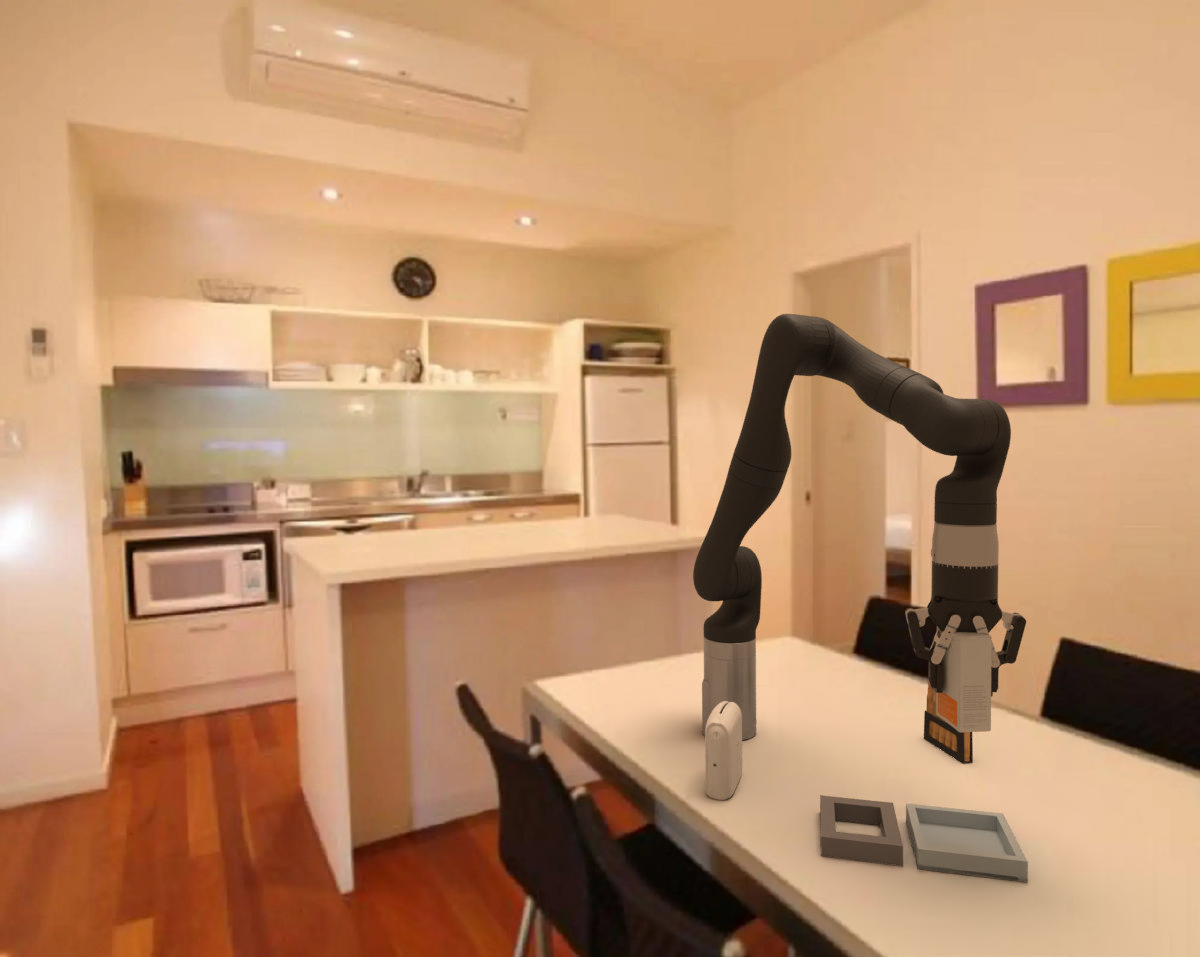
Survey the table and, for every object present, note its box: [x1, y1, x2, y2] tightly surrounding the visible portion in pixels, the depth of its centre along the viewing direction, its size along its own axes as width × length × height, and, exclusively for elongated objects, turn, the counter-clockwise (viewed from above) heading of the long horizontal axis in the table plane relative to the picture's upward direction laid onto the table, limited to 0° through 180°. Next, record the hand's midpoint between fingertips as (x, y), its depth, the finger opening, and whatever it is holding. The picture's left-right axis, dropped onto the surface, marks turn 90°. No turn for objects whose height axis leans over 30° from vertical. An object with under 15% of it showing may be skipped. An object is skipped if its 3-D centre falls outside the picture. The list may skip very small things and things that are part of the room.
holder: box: [819, 794, 904, 867], centre depth 101 cm, size 10×12×2 cm
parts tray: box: [905, 803, 1029, 883], centre depth 98 cm, size 12×12×2 cm
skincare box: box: [936, 626, 993, 733], centre depth 97 cm, size 6×4×12 cm
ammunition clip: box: [923, 680, 974, 764], centre depth 128 cm, size 11×2×12 cm, turn 10°
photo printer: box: [704, 701, 743, 801], centre depth 117 cm, size 10×4×12 cm, turn 158°
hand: (962, 692), depth 97 cm, fingers closed on skincare box, 5 cm apart
